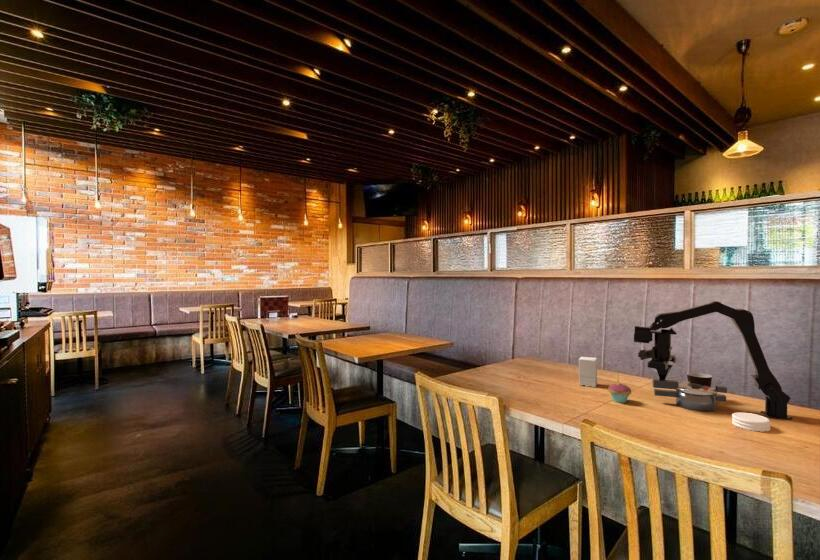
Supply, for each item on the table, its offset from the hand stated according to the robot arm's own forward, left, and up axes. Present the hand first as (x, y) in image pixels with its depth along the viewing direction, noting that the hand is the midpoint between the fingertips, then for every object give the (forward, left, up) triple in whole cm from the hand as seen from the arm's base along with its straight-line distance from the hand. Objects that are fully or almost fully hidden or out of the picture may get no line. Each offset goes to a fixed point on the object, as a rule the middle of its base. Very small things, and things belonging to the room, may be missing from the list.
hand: (662, 382), depth 164 cm
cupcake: (-2, +17, -8) cm, 19 cm away
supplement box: (+22, +24, -8) cm, 33 cm away
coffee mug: (+8, -17, -8) cm, 21 cm away
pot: (-4, -8, -8) cm, 12 cm away
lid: (-4, -8, -2) cm, 9 cm away
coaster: (-24, -18, -8) cm, 31 cm away
